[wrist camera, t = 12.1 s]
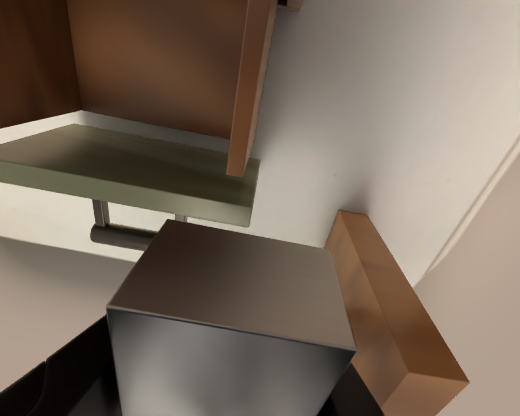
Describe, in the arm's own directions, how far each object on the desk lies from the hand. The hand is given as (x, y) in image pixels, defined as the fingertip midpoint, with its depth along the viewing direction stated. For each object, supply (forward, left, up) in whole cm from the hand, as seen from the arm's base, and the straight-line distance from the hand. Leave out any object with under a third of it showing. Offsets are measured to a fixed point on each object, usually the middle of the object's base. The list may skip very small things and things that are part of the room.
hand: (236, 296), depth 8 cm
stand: (-5, -8, -13) cm, 16 cm away
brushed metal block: (0, 0, +1) cm, 1 cm away
